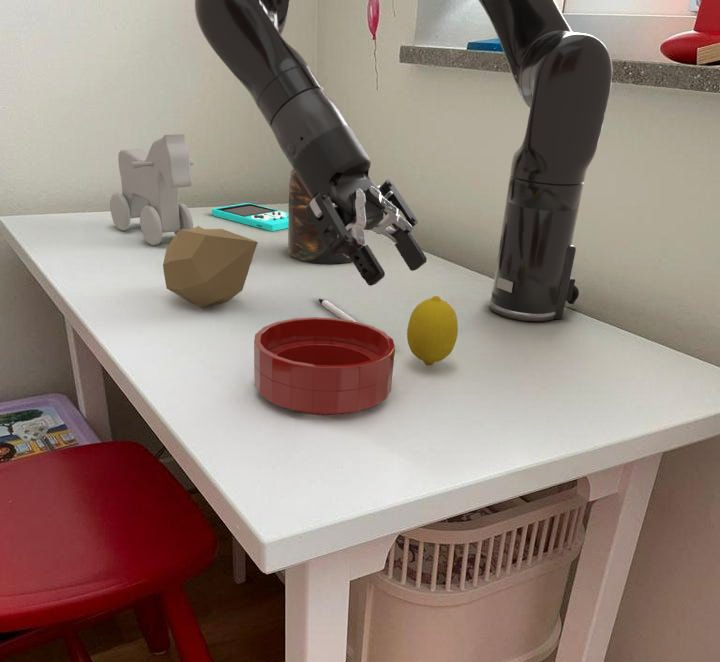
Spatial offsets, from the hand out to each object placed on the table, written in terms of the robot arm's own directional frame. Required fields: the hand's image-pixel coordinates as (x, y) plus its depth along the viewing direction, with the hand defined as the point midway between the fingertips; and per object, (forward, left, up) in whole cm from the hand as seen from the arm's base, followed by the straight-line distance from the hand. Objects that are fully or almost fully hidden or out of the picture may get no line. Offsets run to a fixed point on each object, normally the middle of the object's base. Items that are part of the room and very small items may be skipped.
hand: (399, 273), depth 84 cm
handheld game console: (+19, -66, -10) cm, 69 cm away
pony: (+35, -49, -10) cm, 61 cm away
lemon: (-4, +3, -10) cm, 11 cm away
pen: (+4, -10, -10) cm, 15 cm away
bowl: (+8, +11, -9) cm, 17 cm away
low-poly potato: (+23, -18, -10) cm, 31 cm away
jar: (+7, -43, -10) cm, 45 cm away
